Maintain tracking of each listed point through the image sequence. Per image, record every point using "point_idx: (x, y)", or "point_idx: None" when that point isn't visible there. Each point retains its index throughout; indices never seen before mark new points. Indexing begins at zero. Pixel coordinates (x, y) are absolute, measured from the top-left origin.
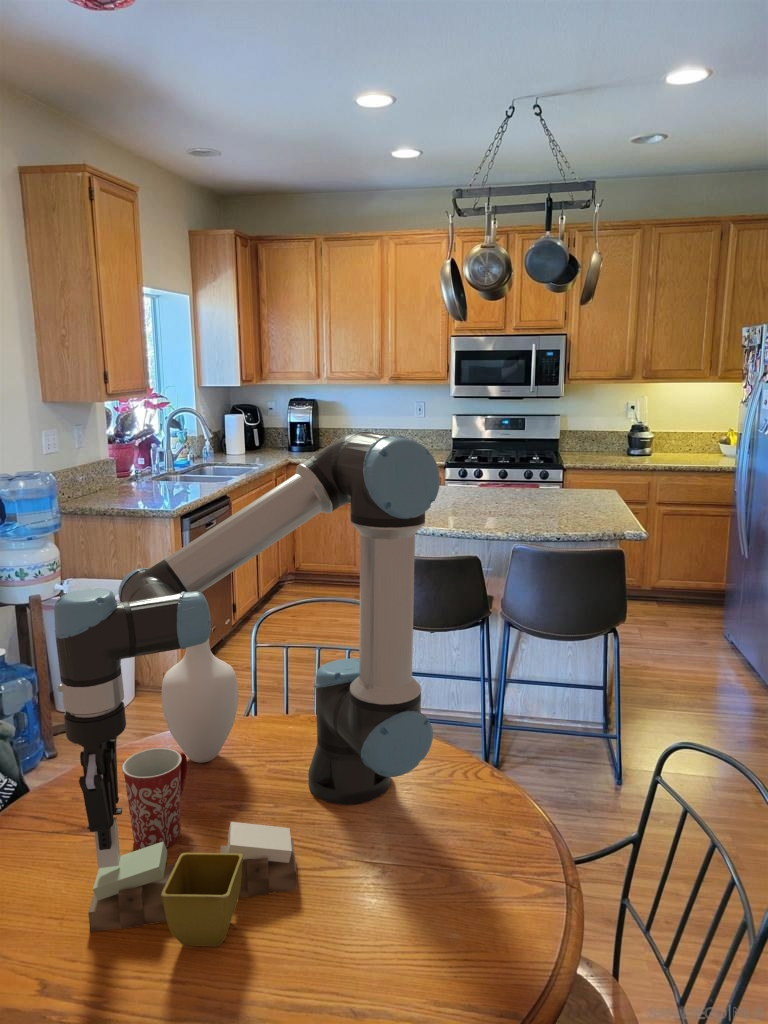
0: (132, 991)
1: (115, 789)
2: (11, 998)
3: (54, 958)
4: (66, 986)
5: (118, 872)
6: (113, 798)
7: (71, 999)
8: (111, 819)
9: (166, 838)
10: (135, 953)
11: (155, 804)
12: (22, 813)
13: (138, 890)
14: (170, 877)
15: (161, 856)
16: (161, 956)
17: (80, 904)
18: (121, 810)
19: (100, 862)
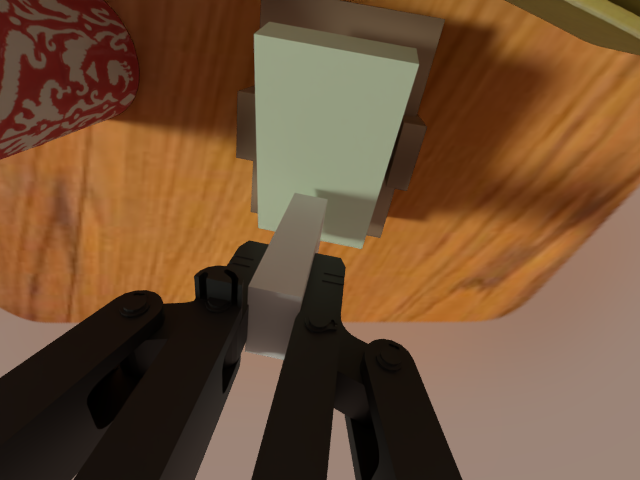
0: (606, 142)
1: (97, 369)
2: (474, 319)
3: (418, 268)
4: (501, 253)
5: (338, 194)
6: (202, 385)
7: (540, 247)
8: (333, 346)
9: (106, 25)
10: (493, 131)
11: (9, 57)
12: (26, 306)
13: (414, 135)
14: (609, 9)
15: (346, 48)
16: (543, 69)
17: None
18: (217, 276)
19: (317, 252)
